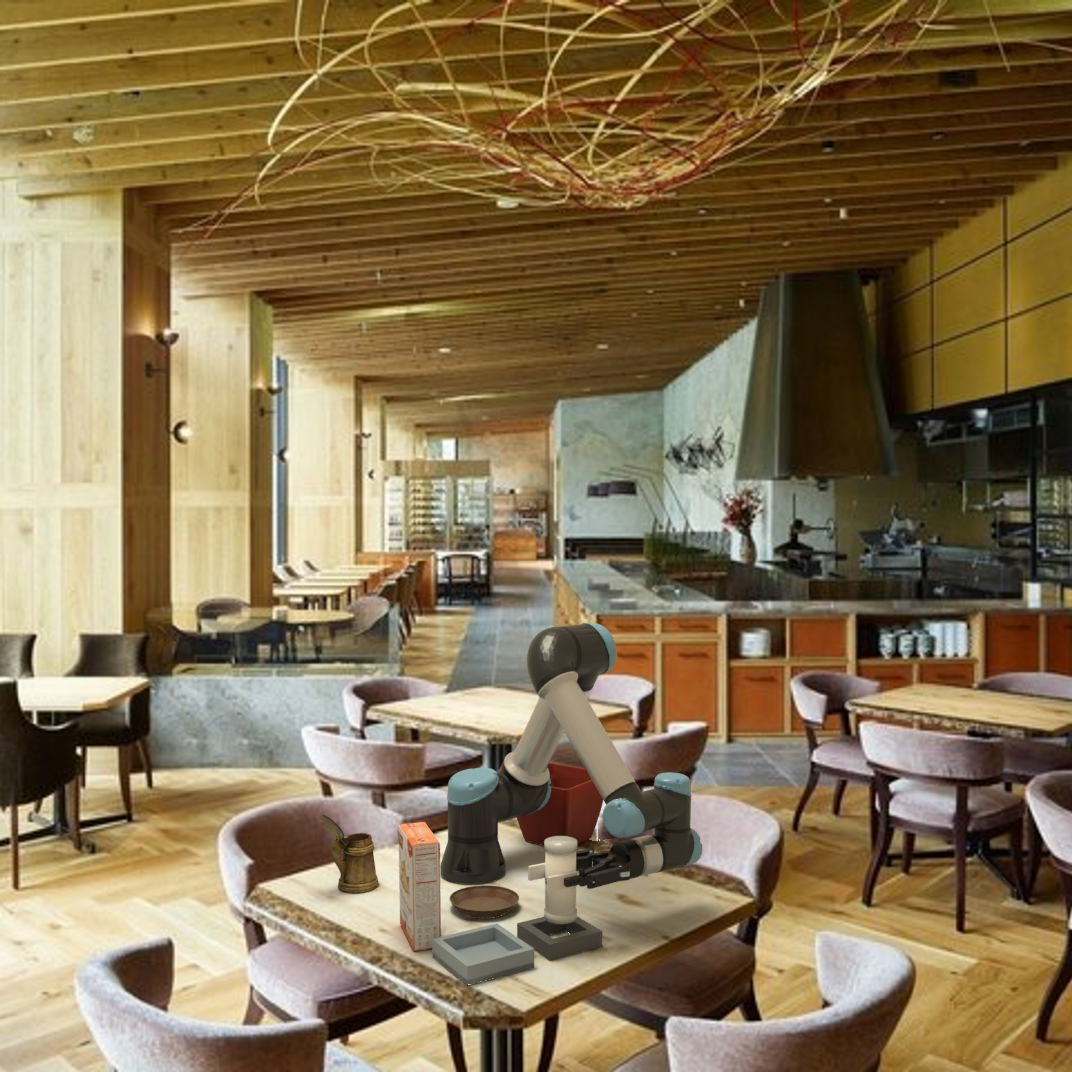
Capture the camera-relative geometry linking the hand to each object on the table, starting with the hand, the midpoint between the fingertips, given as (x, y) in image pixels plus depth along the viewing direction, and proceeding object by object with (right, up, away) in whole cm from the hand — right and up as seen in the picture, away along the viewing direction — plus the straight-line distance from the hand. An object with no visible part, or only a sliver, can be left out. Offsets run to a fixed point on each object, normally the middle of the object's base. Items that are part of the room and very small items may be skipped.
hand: (538, 878), depth 199 cm
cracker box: (-24, -14, +6) cm, 28 cm away
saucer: (-11, -14, +21) cm, 27 cm away
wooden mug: (-42, -13, +32) cm, 55 cm away
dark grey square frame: (+4, -13, +3) cm, 14 cm away
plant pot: (+5, -12, +66) cm, 68 cm away
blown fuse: (+4, -8, +3) cm, 10 cm away
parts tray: (-10, -14, -6) cm, 18 cm away
